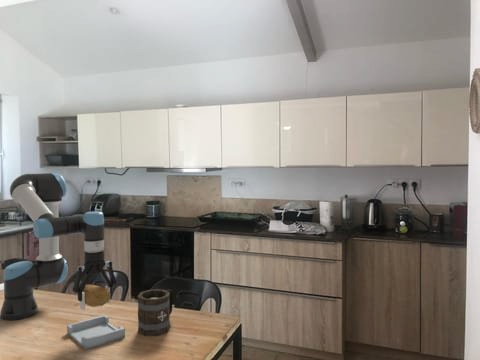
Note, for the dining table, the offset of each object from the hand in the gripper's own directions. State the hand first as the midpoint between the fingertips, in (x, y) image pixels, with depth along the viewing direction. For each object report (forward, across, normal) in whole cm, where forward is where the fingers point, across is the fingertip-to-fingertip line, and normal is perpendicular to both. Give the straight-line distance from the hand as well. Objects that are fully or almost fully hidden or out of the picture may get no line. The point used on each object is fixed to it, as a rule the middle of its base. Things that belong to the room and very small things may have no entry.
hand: (95, 305), depth 158 cm
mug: (+13, +23, -10) cm, 28 cm away
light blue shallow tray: (+12, 0, 0) cm, 12 cm away
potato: (0, 0, 0) cm, 0 cm away
